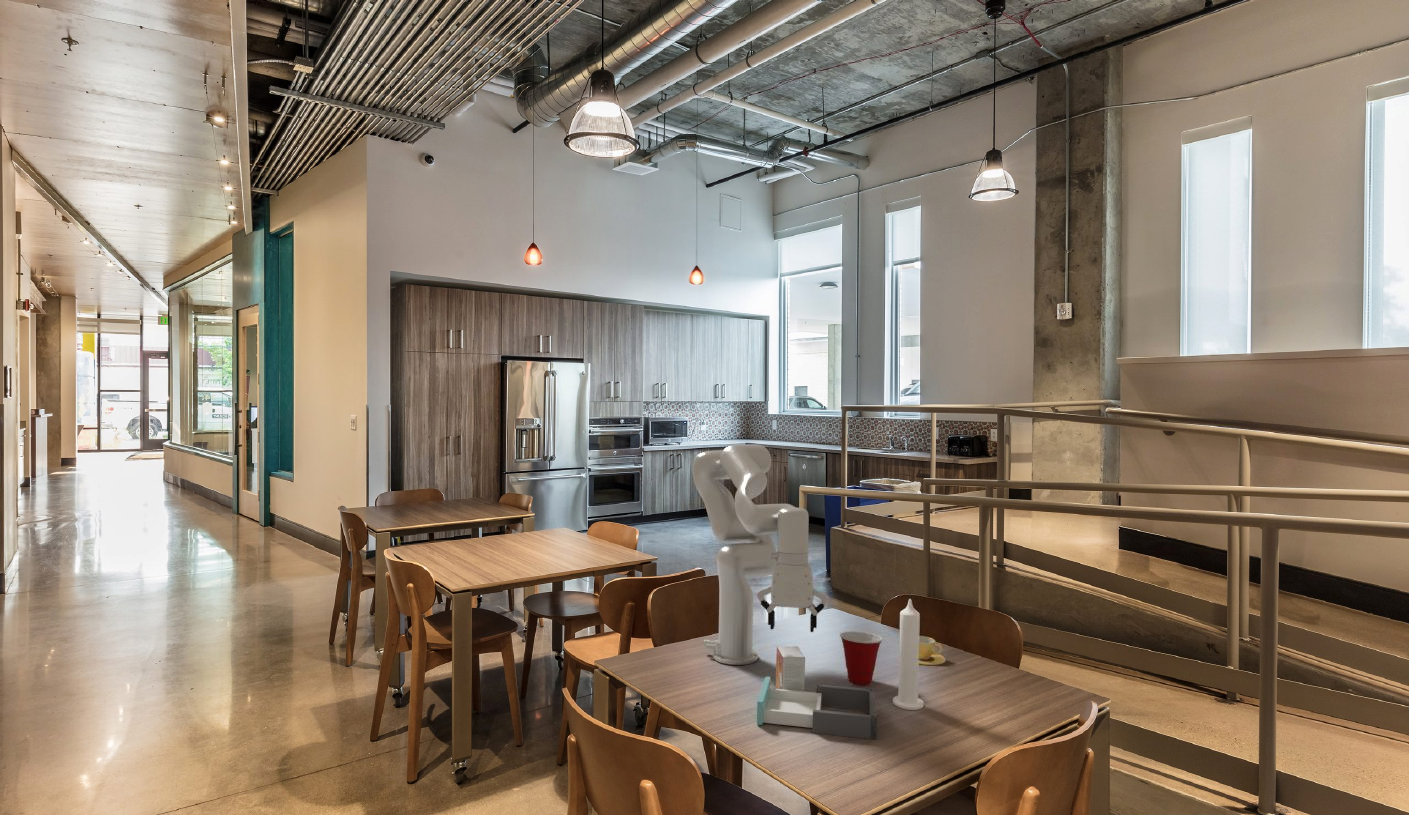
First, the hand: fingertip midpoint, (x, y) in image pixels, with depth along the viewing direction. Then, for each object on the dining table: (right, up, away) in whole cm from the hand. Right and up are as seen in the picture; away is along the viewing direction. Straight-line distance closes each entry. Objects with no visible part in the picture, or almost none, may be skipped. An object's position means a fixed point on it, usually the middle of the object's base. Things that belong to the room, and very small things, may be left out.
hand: (792, 629), depth 177 cm
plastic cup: (+19, -17, +10) cm, 27 cm away
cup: (+41, -17, +29) cm, 52 cm away
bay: (+10, -16, -14) cm, 23 cm away
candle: (+27, -17, -4) cm, 32 cm away
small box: (-1, -16, 0) cm, 16 cm away
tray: (-2, -16, -12) cm, 20 cm away
